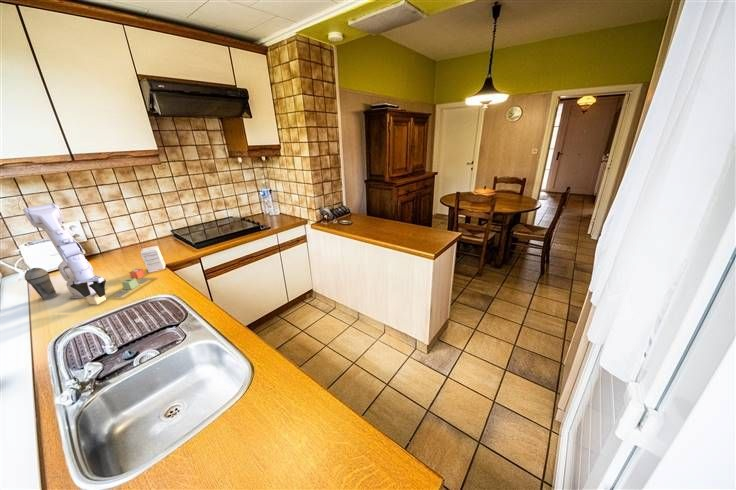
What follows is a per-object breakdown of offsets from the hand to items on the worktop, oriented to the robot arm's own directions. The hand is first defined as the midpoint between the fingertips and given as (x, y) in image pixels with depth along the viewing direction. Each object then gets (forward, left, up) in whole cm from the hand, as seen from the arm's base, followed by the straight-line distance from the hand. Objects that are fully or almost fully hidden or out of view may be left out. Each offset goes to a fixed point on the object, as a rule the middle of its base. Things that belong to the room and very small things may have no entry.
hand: (95, 295), depth 120 cm
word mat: (+5, +12, -4) cm, 13 cm away
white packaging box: (+1, +32, -4) cm, 32 cm away
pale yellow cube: (0, 0, -4) cm, 4 cm away
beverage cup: (-31, +4, -4) cm, 32 cm away
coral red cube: (-2, +23, -4) cm, 23 cm away
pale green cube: (+5, +12, -3) cm, 13 cm away
